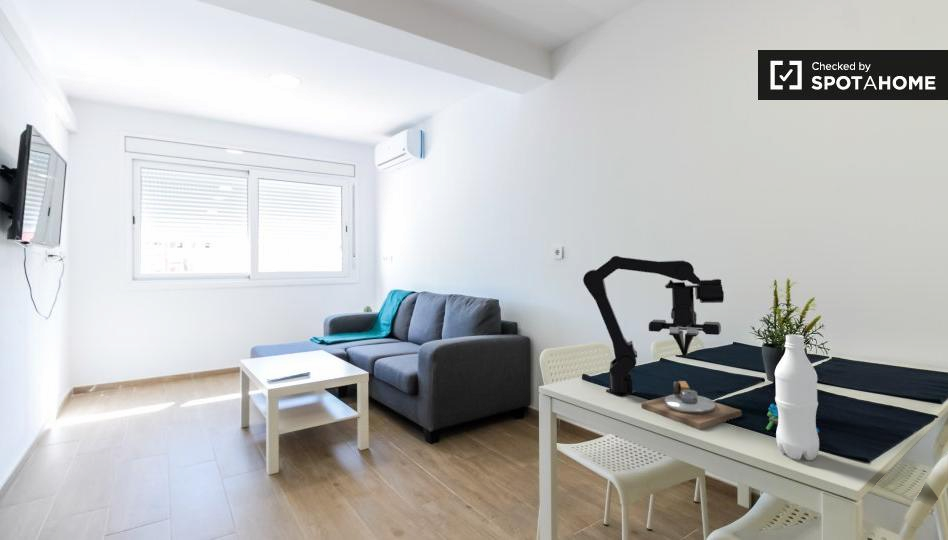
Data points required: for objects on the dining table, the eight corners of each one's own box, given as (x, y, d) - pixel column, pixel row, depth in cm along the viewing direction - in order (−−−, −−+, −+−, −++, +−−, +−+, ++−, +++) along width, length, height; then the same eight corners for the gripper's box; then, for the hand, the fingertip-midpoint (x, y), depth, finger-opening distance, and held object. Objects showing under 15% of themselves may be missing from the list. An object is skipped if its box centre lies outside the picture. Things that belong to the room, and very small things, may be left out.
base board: (641, 407, 123) (640, 388, 123) (681, 397, 130) (680, 378, 129) (699, 429, 107) (698, 407, 106) (741, 416, 113) (740, 395, 113)
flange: (720, 414, 111) (719, 400, 110) (668, 412, 114) (667, 398, 114) (705, 393, 127) (704, 380, 127) (660, 391, 130) (659, 379, 130)
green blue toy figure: (831, 435, 96) (798, 405, 96) (817, 457, 95) (784, 428, 95) (787, 424, 107) (758, 397, 107) (775, 443, 106) (745, 416, 105)
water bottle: (821, 466, 87) (818, 340, 86) (777, 458, 90) (774, 337, 90) (817, 451, 93) (814, 333, 92) (775, 445, 97) (772, 331, 96)
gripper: (722, 300, 131) (723, 352, 131) (655, 299, 141) (657, 347, 142) (717, 305, 122) (719, 361, 122) (647, 303, 132) (649, 355, 133)
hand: (684, 355), depth 130 cm, fingers closed
